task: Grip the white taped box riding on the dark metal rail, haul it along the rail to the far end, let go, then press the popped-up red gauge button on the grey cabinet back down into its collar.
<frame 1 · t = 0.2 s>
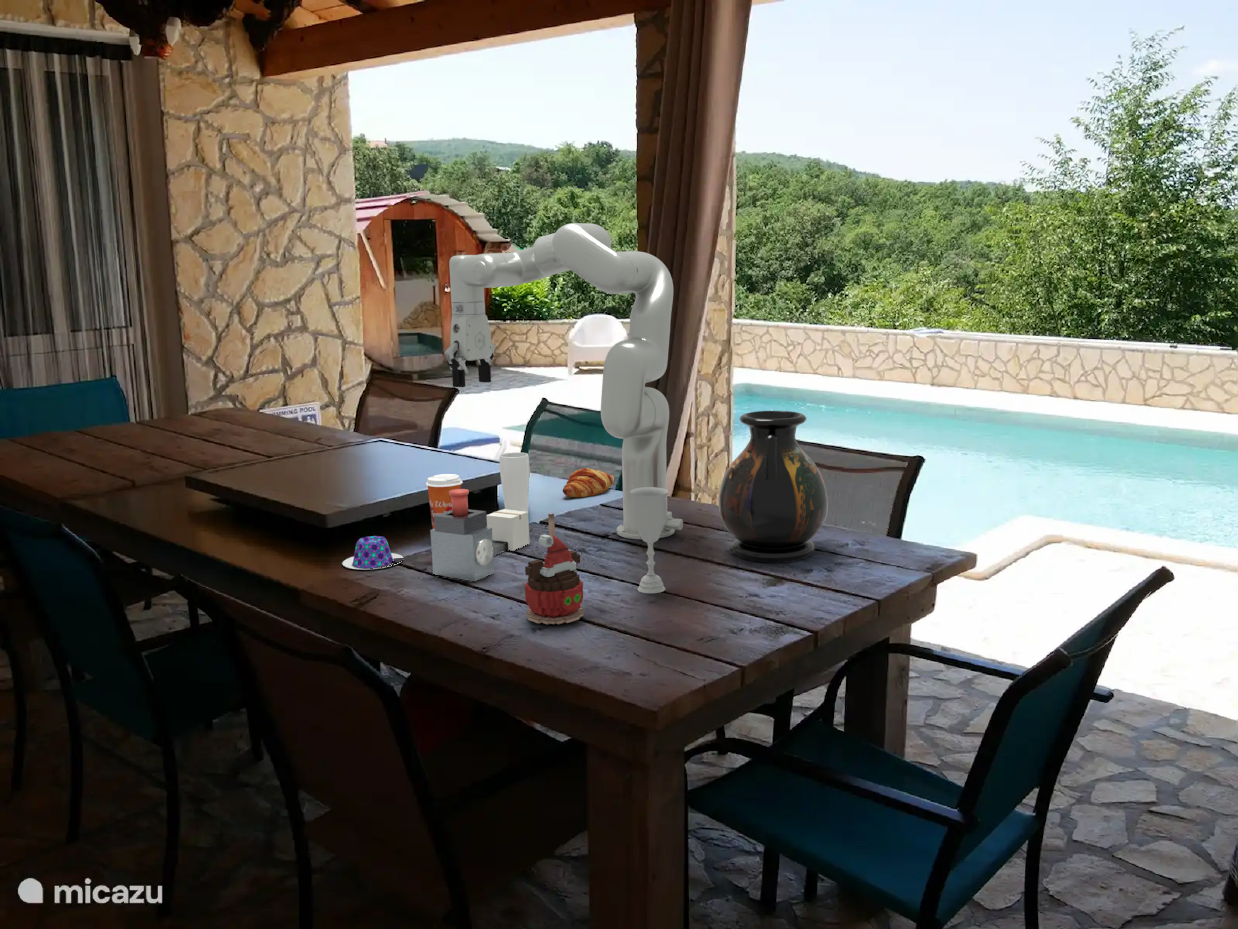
hand: (472, 384, 249), 31 cm above the table, tool pointing down, fingers open, 9 cm apart
gauge button: (459, 502, 204), point 14 cm above the table, slide at 2.5 cm
purple patterned hat: (373, 565, 216), on the table
christmas candy apple: (555, 619, 180), on the table
black painted vase: (772, 554, 215), on the table
rail: (497, 551, 222), on the table
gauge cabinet: (463, 574, 206), on the table
chalice: (651, 590, 194), on the table
white taped box: (508, 529, 225), point 4 cm above the table, slide at 0.0 cm
paper cup: (447, 541, 232), on the table
croissant: (590, 493, 276), on the table
drinking glass: (517, 519, 250), on the table
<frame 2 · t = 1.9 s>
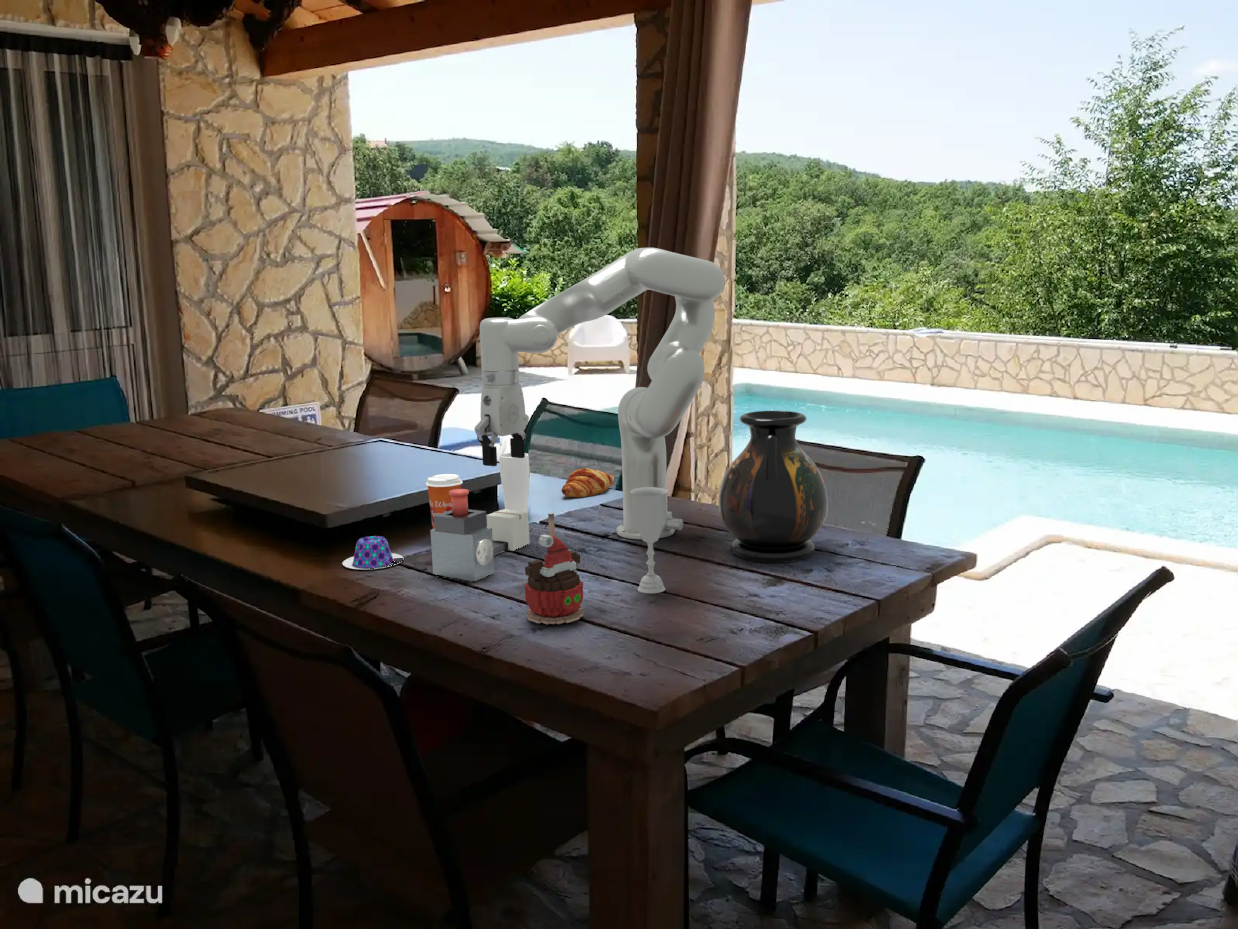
hand: (504, 461, 222), 18 cm above the table, tool pointing down, fingers open, 9 cm apart
nothing on the table moved.
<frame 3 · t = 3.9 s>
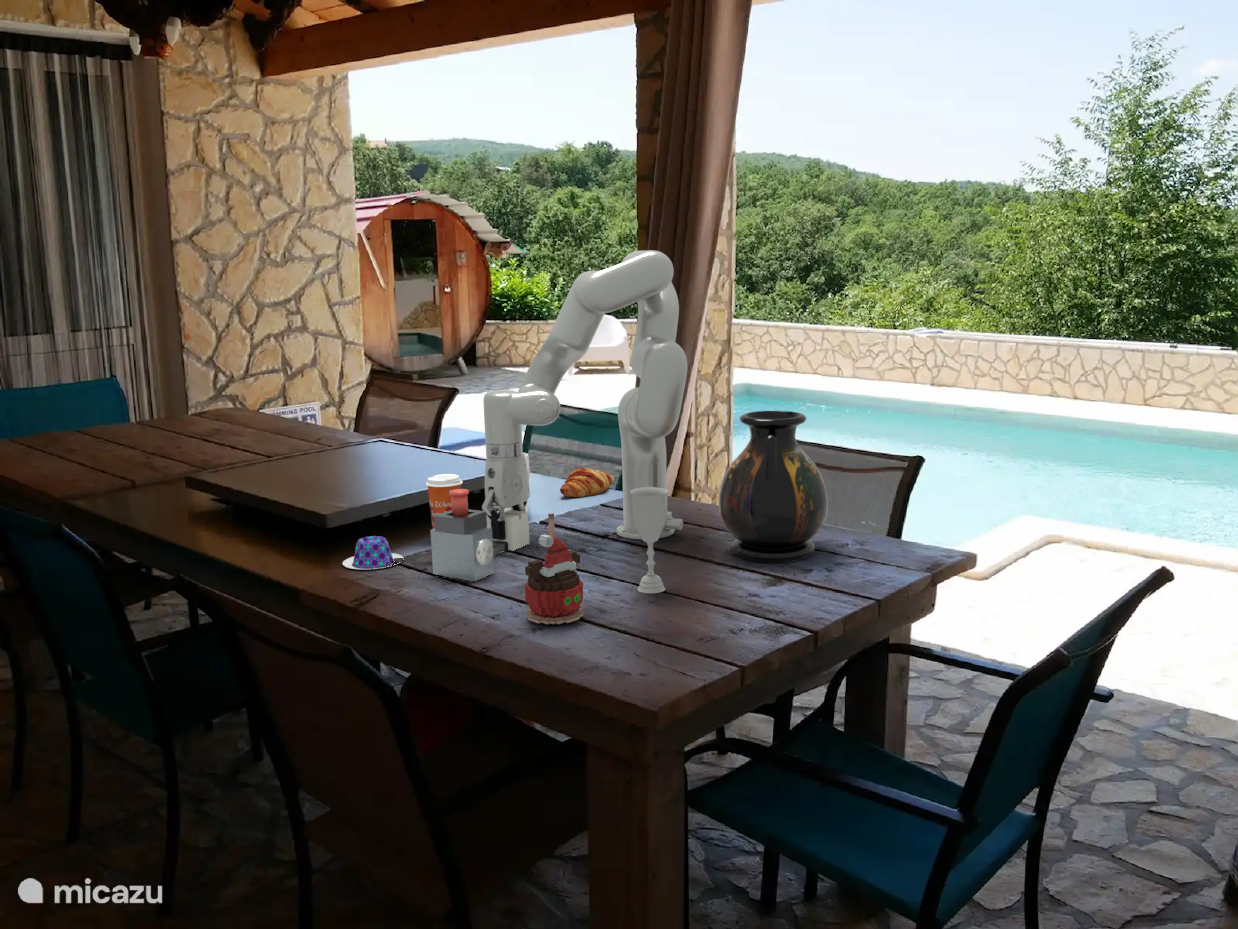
hand: (508, 534, 225), 3 cm above the table, tool pointing down, fingers closed on white taped box, 6 cm apart
white taped box: (508, 529, 225), point 4 cm above the table, slide at 0.0 cm, touching gripper
everything else where it was.
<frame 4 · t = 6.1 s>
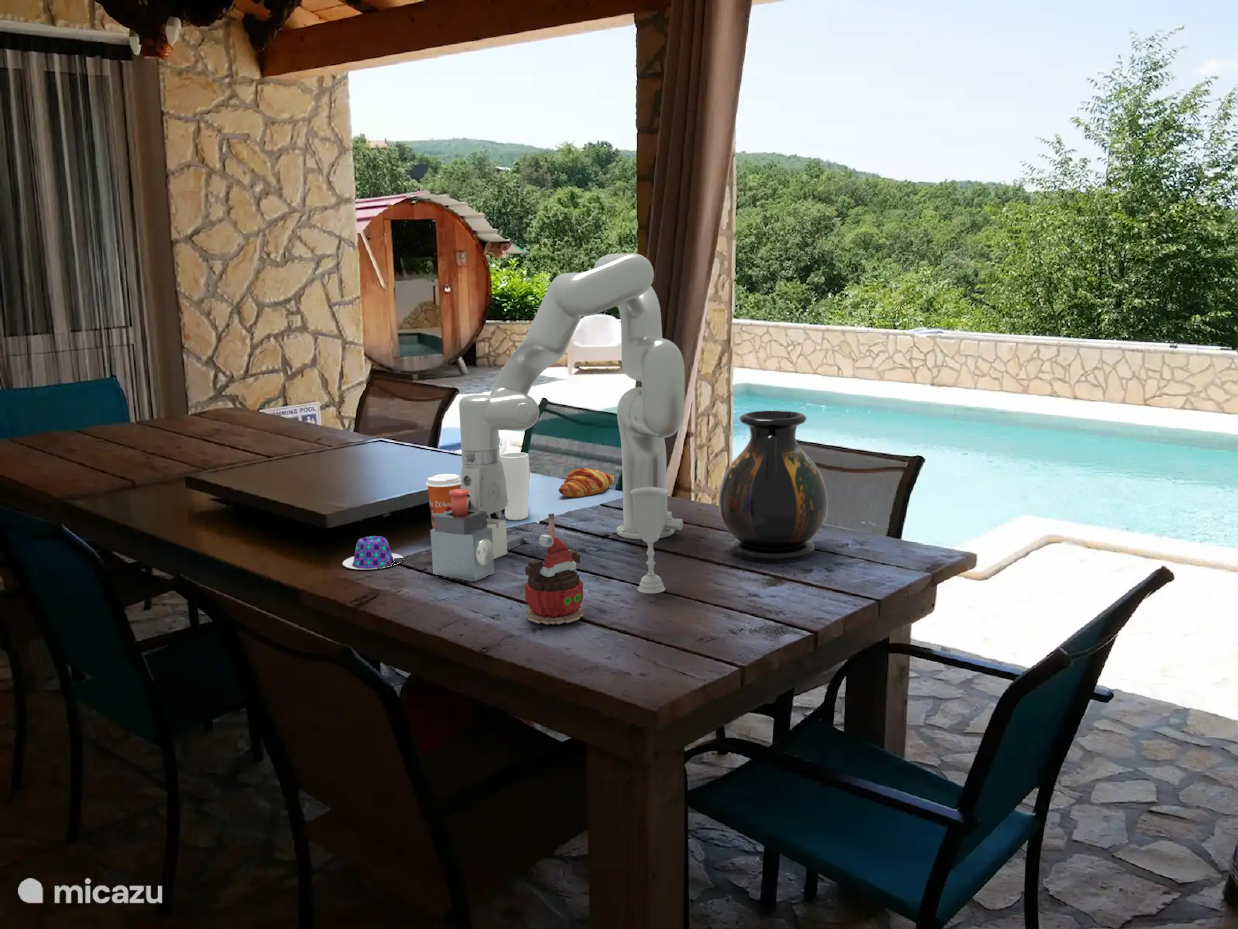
hand: (485, 543, 218), 3 cm above the table, tool pointing down, fingers closed on white taped box, 6 cm apart
white taped box: (485, 538, 218), point 4 cm above the table, slide at 8.0 cm, touching gripper
everything else where it was.
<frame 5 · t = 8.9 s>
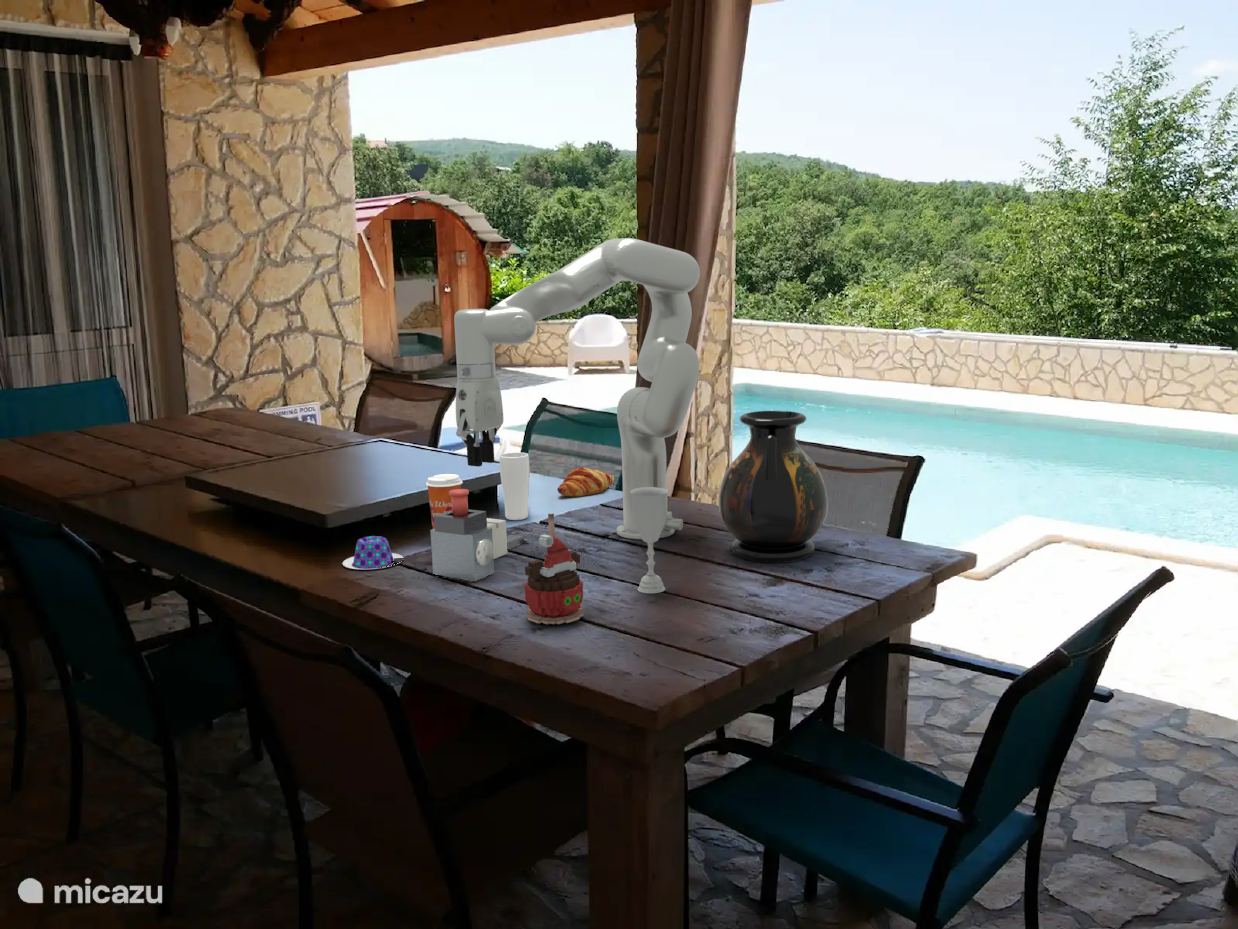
hand: (481, 463, 215), 19 cm above the table, tool pointing down, fingers open, 3 cm apart
white taped box: (485, 538, 218), point 4 cm above the table, slide at 8.0 cm
everything else where it was.
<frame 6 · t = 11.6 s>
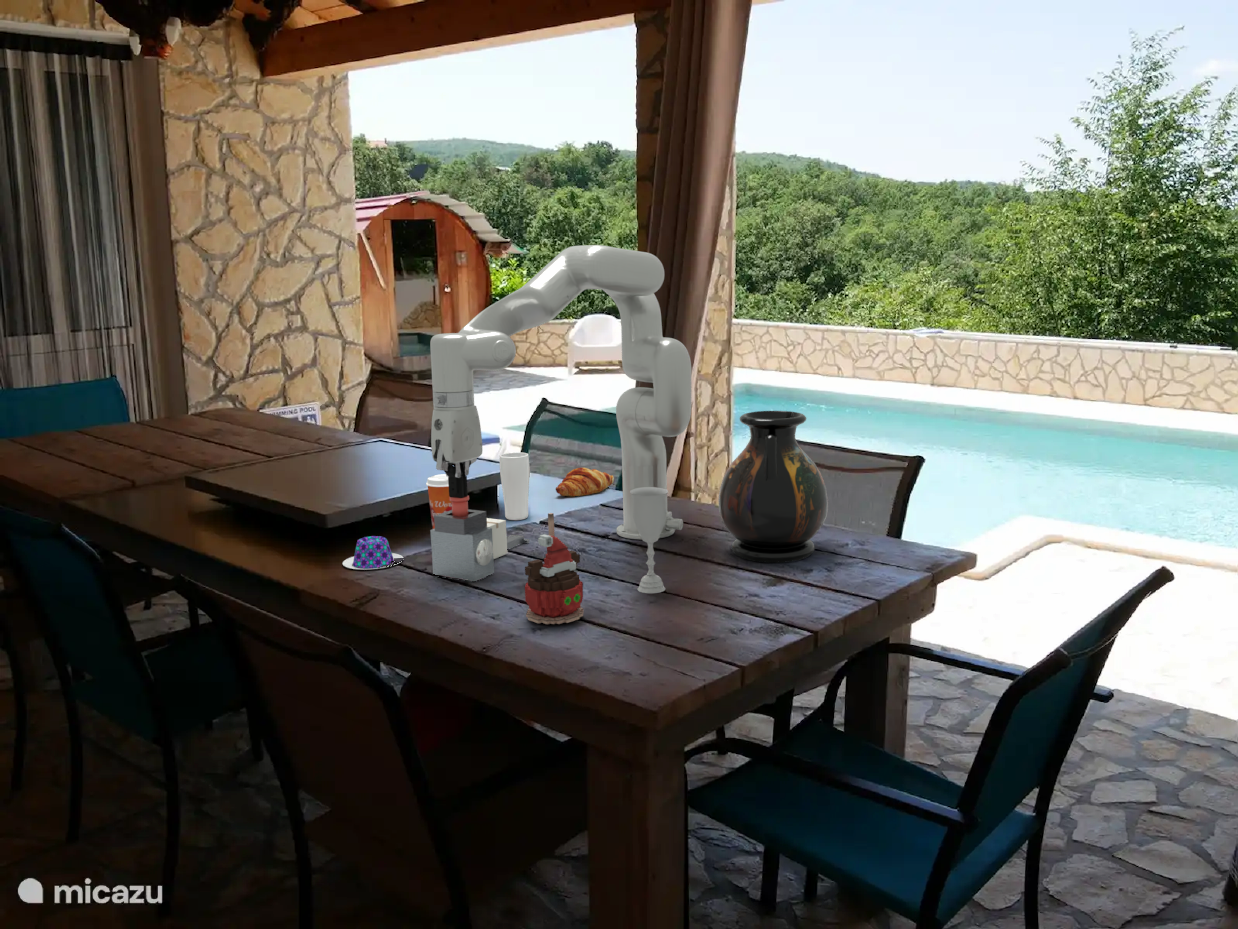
hand: (458, 496, 203), 15 cm above the table, tool pointing down, fingers closed
gauge button: (460, 508, 204), point 13 cm above the table, slide at 1.4 cm, touching gripper
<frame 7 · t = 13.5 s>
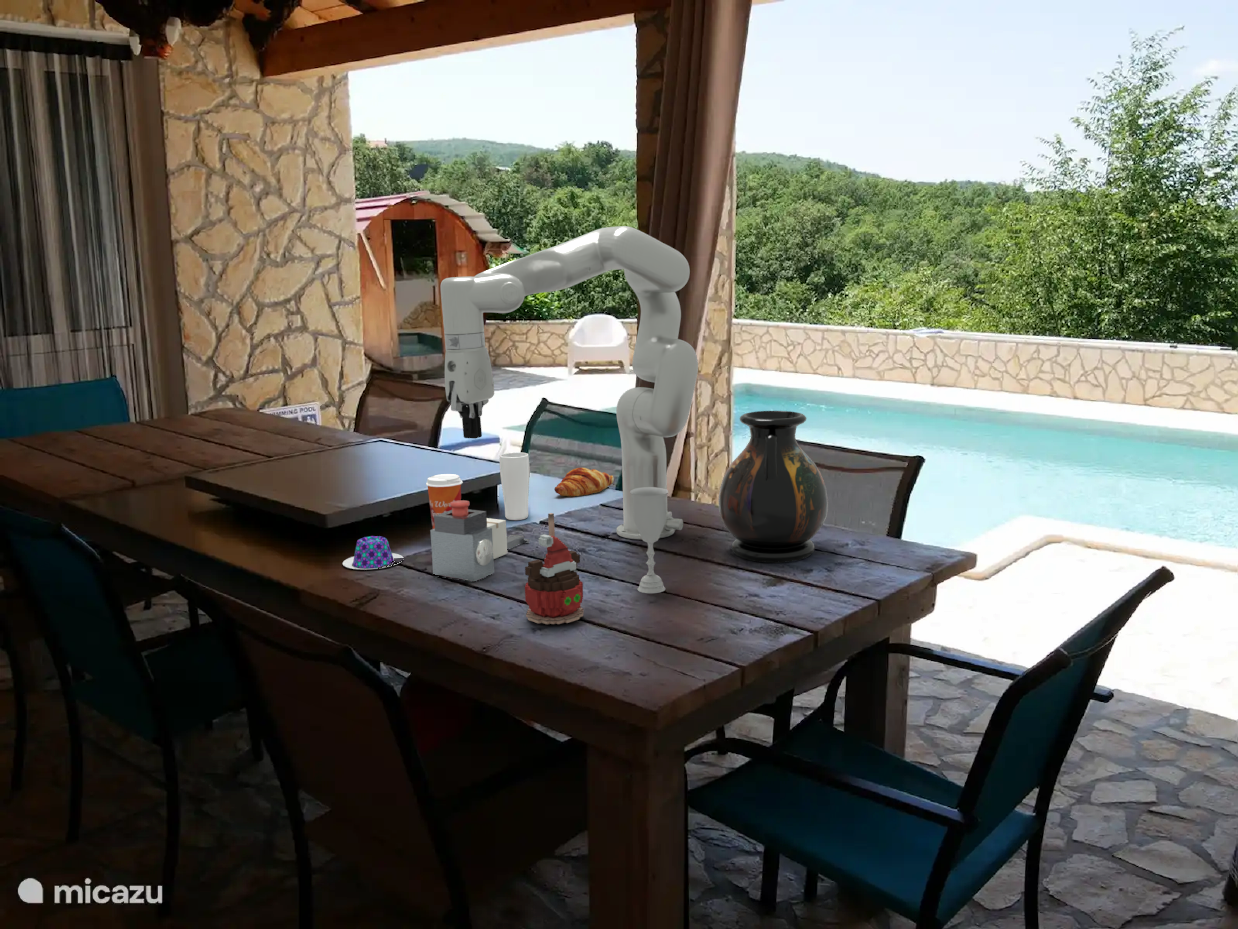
hand: (472, 437, 208), 25 cm above the table, tool pointing down, fingers closed
gauge button: (460, 514, 204), point 12 cm above the table, slide at 0.3 cm
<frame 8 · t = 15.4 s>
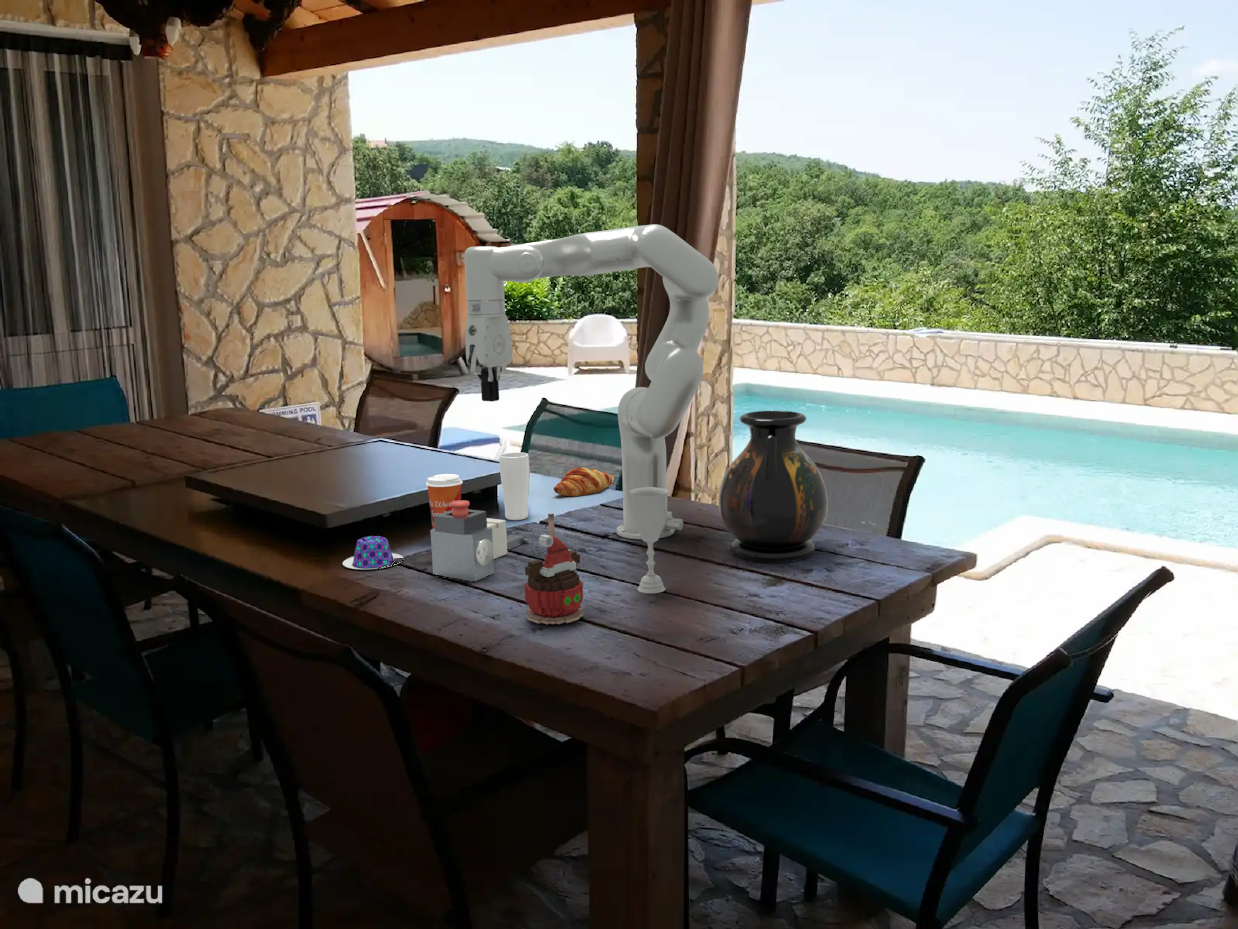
hand: (490, 400, 218), 31 cm above the table, tool pointing down, fingers closed
at the end: white taped box slide at 8.0 cm; gauge button slide at 0.3 cm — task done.
